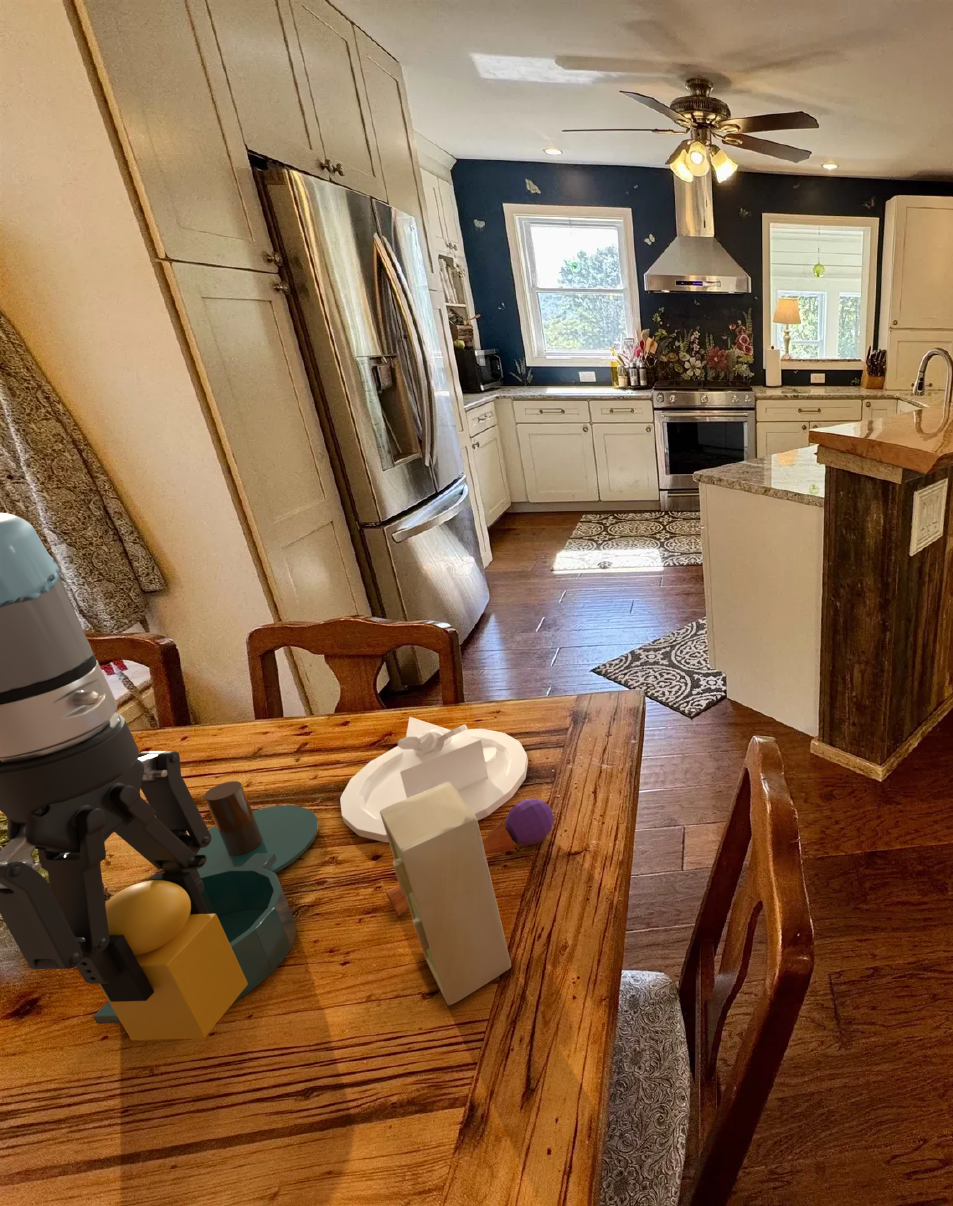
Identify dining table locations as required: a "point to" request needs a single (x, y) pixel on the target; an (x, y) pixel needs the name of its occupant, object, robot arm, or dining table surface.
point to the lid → (254, 830)
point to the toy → (173, 962)
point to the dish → (435, 773)
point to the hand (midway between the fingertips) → (166, 961)
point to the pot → (245, 920)
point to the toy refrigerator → (447, 889)
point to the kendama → (503, 837)
